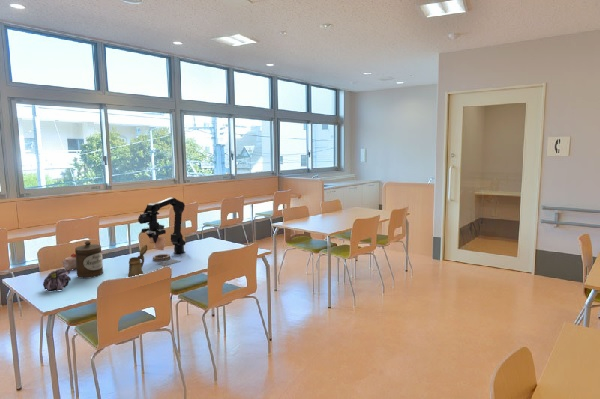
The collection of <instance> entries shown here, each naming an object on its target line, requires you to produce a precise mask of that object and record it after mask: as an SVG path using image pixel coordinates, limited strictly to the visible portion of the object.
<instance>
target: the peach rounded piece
mask: <svg viewBox="0 0 600 399" xmlns="http://www.w3.org/2000/svg"><path fill="white" fill-rule="evenodd" d="M149 244H154V246H153V250H156V251H157V250H158V251H164V248H165V244H166V237H162V236H158V239H157V242H156V243H154V240H153V238H149Z"/></svg>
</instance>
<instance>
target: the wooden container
mask: <svg viewBox="0 0 600 399" xmlns="http://www.w3.org/2000/svg"><path fill="white" fill-rule="evenodd" d="M75 254H76V268H77V269H76V276H78V277H77V278H79V277H83V278H82V279H85V278H84V277H91V278H95V277H94V276H96V277H99V276H101V275H102V274H103V273H104V268H103V265H104V264H103V256H102V245H101V244H94V243H92V244H91V241H90V240H86V241H85V242H84V245H80V246H77V247H75ZM98 275H99V276H98Z"/></svg>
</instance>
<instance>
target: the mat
mask: <svg viewBox="0 0 600 399" xmlns="http://www.w3.org/2000/svg"><path fill="white" fill-rule="evenodd" d="M177 262H178V263H181V262H182V260H178V259H169V260H164V261H160V262H158V263H157V265H160V266H164V267H166V266H171V265H173V264H177Z"/></svg>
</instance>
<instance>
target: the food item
mask: <svg viewBox="0 0 600 399" xmlns="http://www.w3.org/2000/svg"><path fill="white" fill-rule="evenodd" d="M62 267H63V269H66V270H69V271H73V270H72V269H74V270H77V268H76V253H72V254H70V256H68V257H65V258H64V259H63V260H62Z"/></svg>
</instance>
